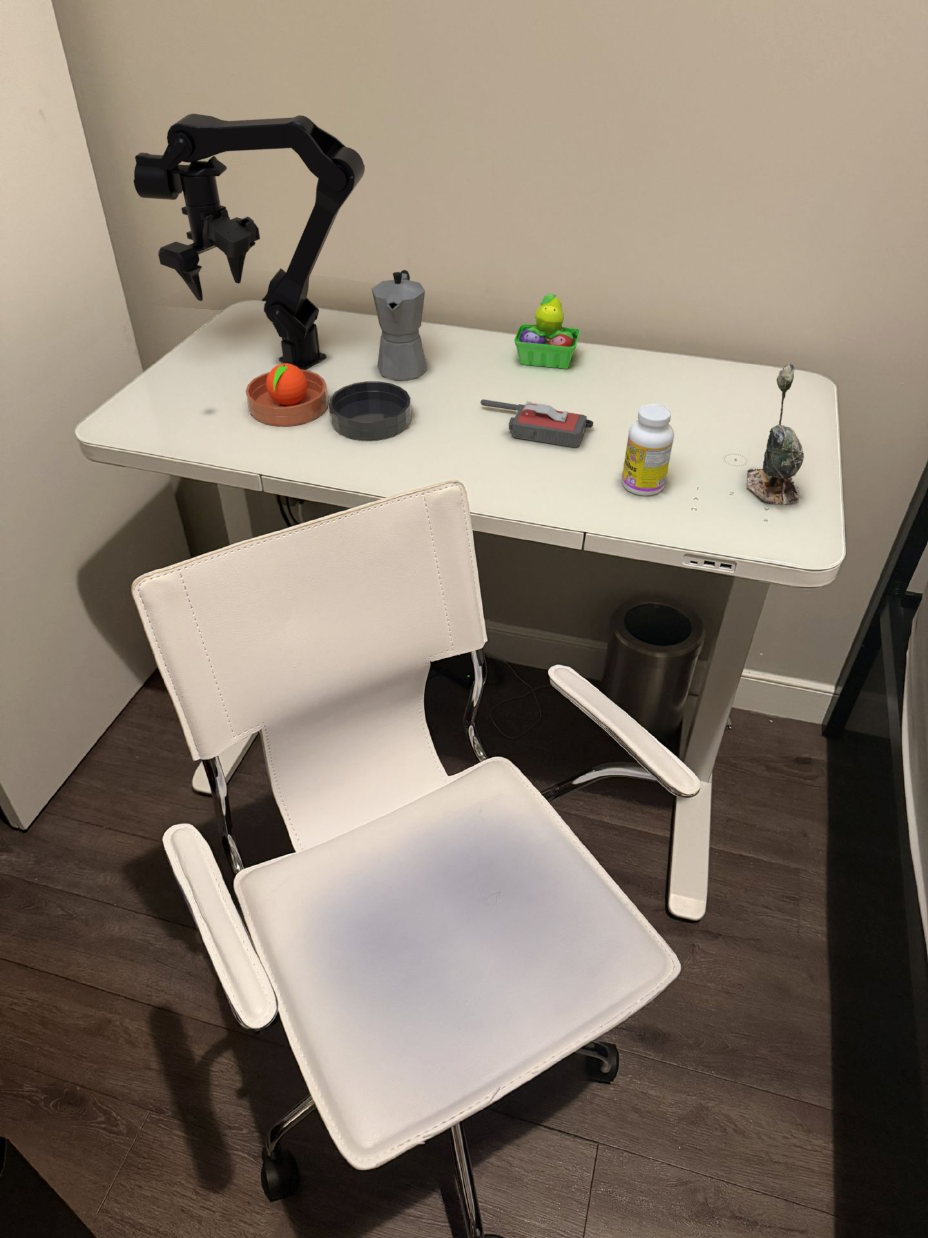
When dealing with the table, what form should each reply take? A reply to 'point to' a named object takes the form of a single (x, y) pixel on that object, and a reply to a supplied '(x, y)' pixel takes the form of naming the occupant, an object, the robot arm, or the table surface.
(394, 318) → the coffeepot
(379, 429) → the charcoal bowl
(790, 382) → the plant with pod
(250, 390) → the terracotta bowl
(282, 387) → the clementine
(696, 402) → the table surface
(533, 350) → the fruit basket
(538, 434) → the walkie-talkie
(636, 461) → the supplement bottle
